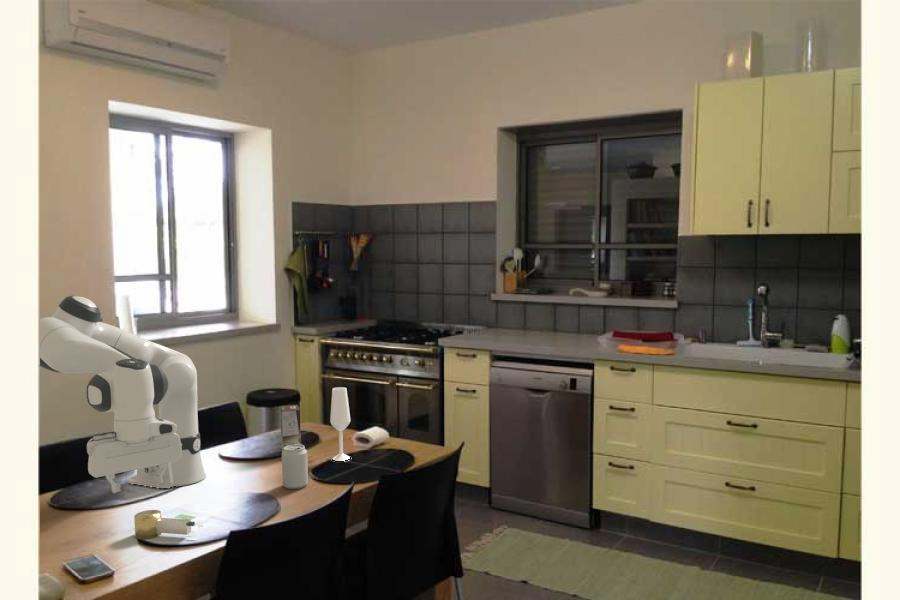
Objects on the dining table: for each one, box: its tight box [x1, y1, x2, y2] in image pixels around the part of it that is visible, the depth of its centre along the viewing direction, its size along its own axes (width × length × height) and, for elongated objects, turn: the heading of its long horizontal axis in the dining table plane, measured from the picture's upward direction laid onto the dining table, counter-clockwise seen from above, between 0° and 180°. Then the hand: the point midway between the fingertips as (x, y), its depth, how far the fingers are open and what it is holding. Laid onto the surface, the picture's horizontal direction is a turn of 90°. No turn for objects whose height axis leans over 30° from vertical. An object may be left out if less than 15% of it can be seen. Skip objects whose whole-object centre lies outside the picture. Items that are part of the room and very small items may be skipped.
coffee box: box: [279, 404, 302, 453], centre depth 241 cm, size 9×6×16 cm
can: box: [281, 444, 309, 490], centre depth 207 cm, size 8×8×12 cm
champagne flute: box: [329, 386, 351, 462], centre depth 233 cm, size 7×7×24 cm
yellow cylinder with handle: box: [133, 509, 196, 540], centre depth 168 cm, size 15×6×5 cm, turn 78°
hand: (137, 487), depth 162 cm, fingers open, 8 cm apart
